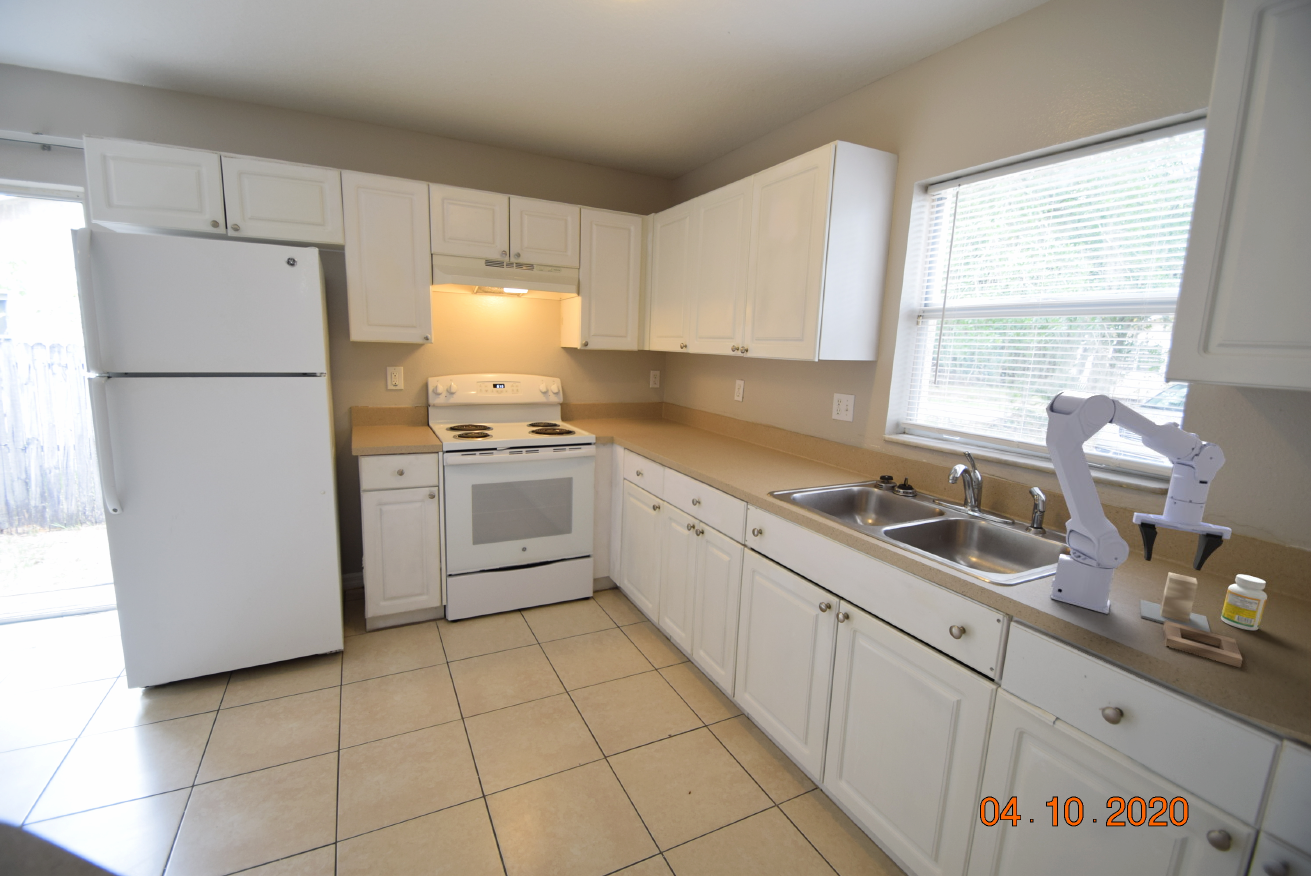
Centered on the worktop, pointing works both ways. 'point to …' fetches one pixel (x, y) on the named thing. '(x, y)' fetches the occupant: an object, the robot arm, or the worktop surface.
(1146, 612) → the slate mat
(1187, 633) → the pocket block
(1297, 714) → the worktop surface
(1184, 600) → the maple part
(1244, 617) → the supplement bottle
